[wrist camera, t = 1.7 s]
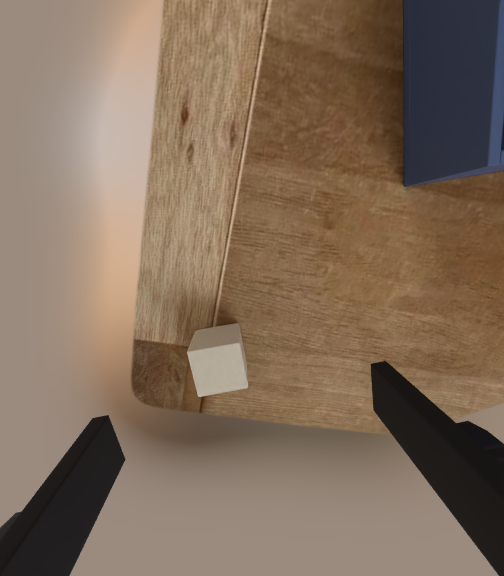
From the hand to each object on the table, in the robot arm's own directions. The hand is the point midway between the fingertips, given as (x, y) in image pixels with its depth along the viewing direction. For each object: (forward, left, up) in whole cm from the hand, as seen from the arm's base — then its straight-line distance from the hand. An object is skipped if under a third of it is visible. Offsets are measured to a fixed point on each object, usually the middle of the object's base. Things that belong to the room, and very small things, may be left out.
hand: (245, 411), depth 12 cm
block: (+3, -3, -13) cm, 14 cm away
